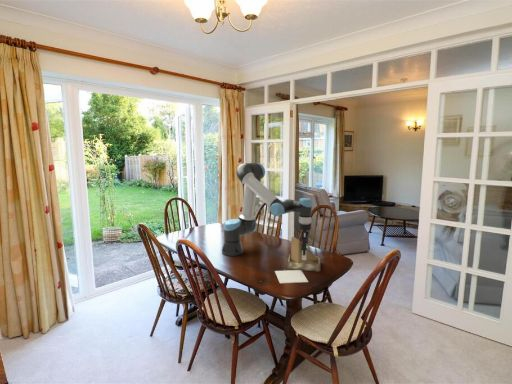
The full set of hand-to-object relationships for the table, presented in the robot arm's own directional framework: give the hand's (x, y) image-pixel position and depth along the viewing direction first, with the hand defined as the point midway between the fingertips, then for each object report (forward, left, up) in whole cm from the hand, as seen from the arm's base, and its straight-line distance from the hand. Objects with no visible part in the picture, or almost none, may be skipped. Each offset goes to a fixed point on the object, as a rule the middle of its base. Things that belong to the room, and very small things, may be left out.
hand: (304, 256), depth 185 cm
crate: (0, 0, -6) cm, 6 cm away
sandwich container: (0, +1, -2) cm, 3 cm away
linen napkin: (-7, -18, -7) cm, 21 cm away
